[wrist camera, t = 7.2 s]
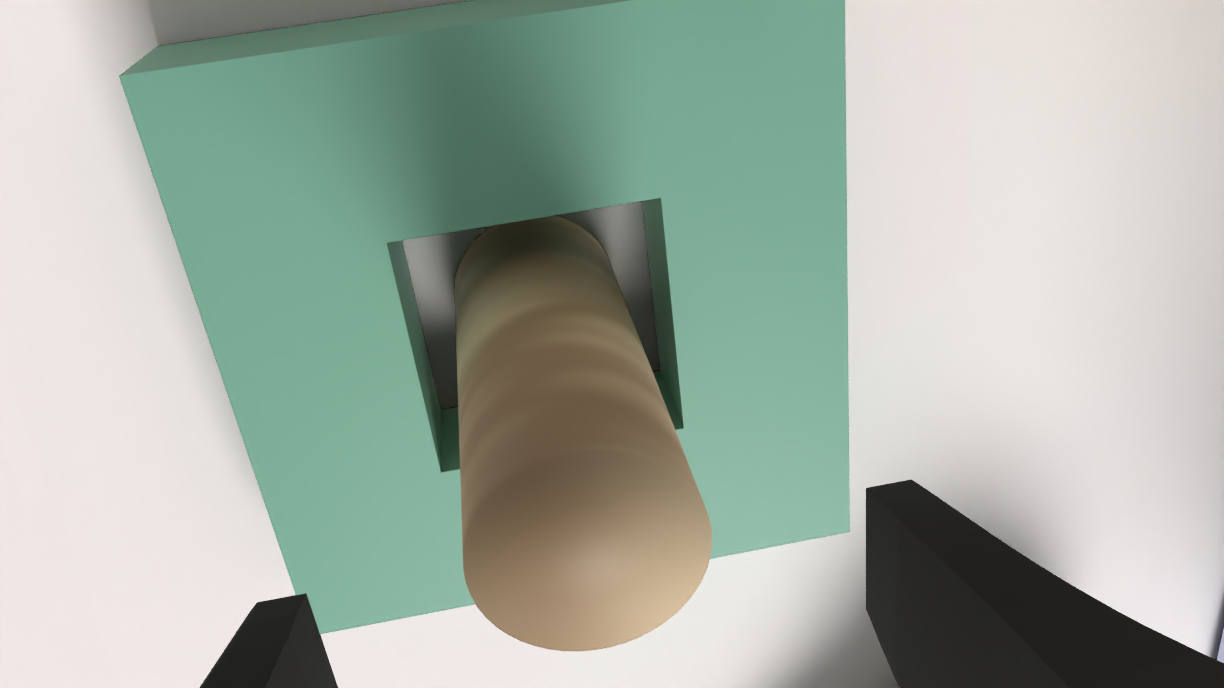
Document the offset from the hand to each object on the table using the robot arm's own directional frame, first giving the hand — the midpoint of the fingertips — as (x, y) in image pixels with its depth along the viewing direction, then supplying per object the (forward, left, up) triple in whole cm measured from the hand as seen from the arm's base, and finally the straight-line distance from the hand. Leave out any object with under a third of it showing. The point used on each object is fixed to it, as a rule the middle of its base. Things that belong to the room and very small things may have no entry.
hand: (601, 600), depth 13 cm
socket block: (0, 0, -10) cm, 10 cm away
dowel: (0, 0, -10) cm, 10 cm away
